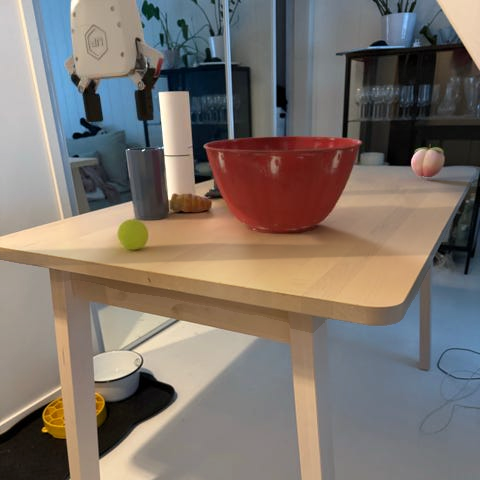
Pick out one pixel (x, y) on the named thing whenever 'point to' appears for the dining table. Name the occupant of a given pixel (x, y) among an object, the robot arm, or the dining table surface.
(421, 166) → the decorative fruit
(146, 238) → the ball
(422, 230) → the dining table surface
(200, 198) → the pastry
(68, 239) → the dining table surface
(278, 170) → the mixing bowl
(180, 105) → the cylindrical container
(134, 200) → the cup
